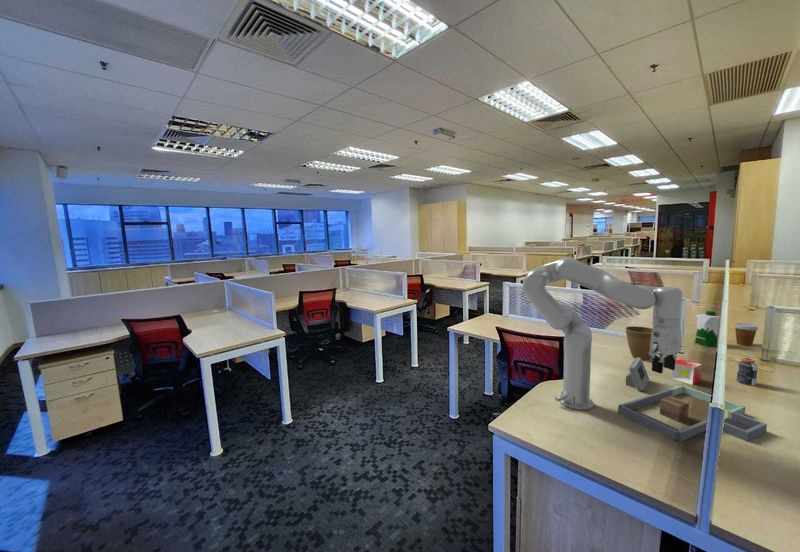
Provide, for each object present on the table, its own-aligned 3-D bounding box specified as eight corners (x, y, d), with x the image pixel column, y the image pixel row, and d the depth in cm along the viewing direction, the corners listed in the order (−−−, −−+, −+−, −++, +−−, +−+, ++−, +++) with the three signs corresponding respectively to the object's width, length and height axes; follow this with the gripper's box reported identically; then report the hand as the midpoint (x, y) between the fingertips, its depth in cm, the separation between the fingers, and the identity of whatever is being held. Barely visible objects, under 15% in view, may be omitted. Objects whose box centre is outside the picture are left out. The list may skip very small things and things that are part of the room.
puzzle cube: (671, 378, 150) (672, 362, 149) (679, 374, 153) (680, 359, 152) (692, 385, 143) (694, 368, 142) (700, 380, 146) (702, 364, 145)
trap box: (711, 458, 96) (712, 449, 96) (618, 412, 123) (618, 405, 123) (777, 426, 111) (778, 418, 110) (681, 391, 137) (681, 384, 137)
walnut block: (678, 422, 115) (679, 406, 115) (659, 414, 121) (660, 399, 120) (688, 418, 118) (689, 403, 117) (669, 410, 123) (670, 395, 122)
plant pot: (664, 363, 167) (666, 333, 165) (633, 362, 170) (634, 333, 168) (647, 353, 182) (648, 325, 180) (618, 352, 184) (620, 325, 182)
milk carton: (720, 345, 189) (722, 313, 187) (707, 347, 187) (710, 314, 185) (703, 341, 197) (705, 309, 195) (691, 342, 196) (693, 311, 194)
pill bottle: (760, 386, 139) (762, 361, 138) (743, 385, 140) (746, 361, 139) (748, 380, 145) (750, 356, 144) (732, 379, 146) (734, 356, 145)
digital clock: (641, 393, 137) (642, 369, 136) (618, 385, 145) (619, 363, 143) (656, 383, 146) (658, 360, 144) (634, 376, 153) (635, 355, 152)
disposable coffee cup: (728, 343, 193) (730, 324, 191) (738, 341, 195) (740, 322, 194) (750, 348, 184) (751, 328, 182) (760, 345, 186) (762, 326, 185)
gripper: (662, 327, 106) (659, 379, 108) (693, 321, 112) (690, 369, 114) (638, 322, 113) (636, 370, 115) (669, 316, 119) (666, 362, 121)
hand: (663, 369), depth 114 cm, fingers open, 6 cm apart
